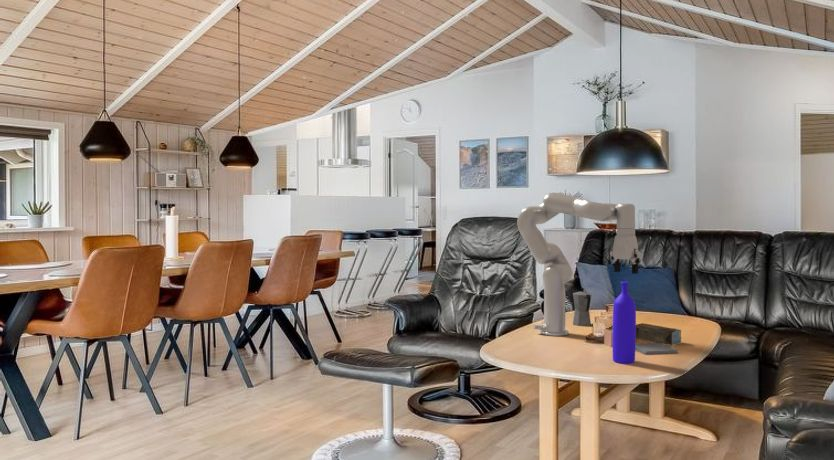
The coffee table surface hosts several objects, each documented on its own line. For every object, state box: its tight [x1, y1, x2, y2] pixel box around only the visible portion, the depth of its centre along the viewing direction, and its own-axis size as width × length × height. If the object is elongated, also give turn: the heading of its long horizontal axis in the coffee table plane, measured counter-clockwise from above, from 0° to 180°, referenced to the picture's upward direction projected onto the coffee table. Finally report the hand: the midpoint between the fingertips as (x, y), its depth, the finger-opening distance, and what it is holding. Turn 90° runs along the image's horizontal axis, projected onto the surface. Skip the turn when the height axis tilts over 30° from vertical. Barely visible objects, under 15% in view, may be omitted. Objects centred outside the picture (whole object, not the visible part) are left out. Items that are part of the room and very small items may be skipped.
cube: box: [603, 329, 613, 348], centre depth 279 cm, size 6×6×6 cm
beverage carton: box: [636, 322, 682, 346], centre depth 288 cm, size 8×19×7 cm, turn 40°
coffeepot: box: [572, 287, 592, 327], centre depth 325 cm, size 15×9×18 cm, turn 9°
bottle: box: [612, 281, 637, 365], centre depth 250 cm, size 8×8×30 cm
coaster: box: [635, 342, 679, 355], centre depth 270 cm, size 14×14×1 cm
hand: (626, 272), depth 285 cm, fingers open, 9 cm apart
